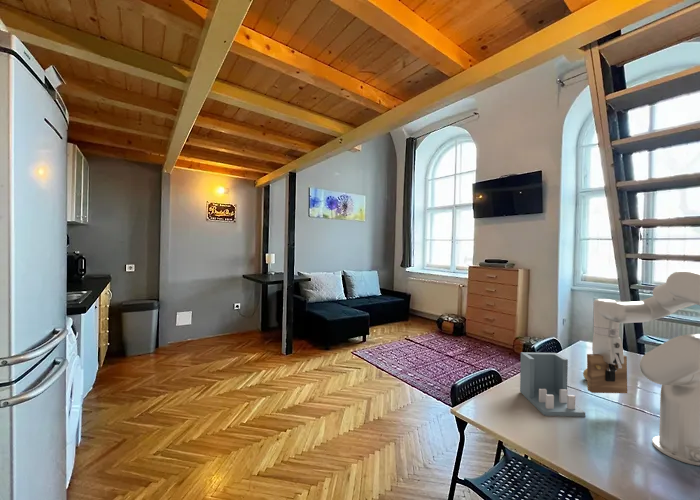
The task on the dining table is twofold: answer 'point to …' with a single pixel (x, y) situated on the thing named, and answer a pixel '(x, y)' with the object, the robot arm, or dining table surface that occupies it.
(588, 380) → the door
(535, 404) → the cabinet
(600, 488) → the dining table surface
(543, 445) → the dining table surface
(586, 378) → the onion
